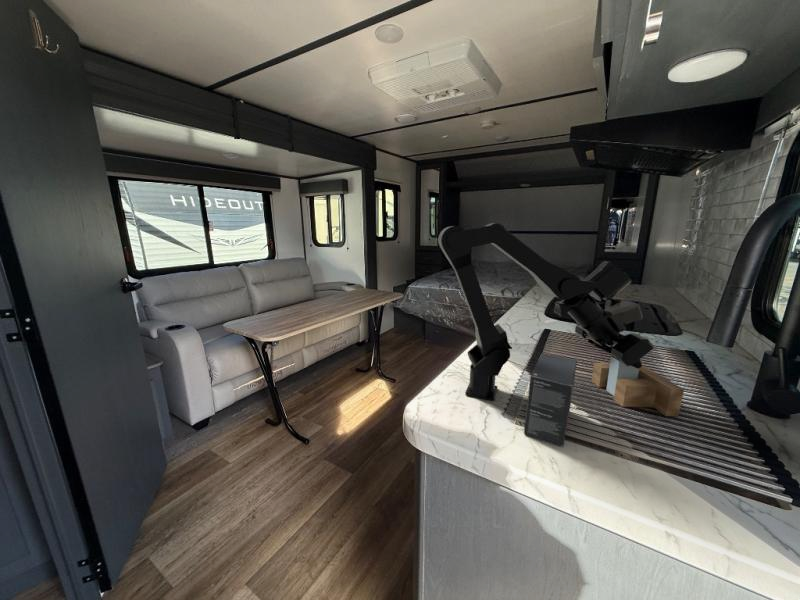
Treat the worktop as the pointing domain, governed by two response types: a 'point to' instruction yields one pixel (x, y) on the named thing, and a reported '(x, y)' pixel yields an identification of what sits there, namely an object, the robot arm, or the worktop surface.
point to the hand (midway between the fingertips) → (631, 362)
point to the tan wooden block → (642, 390)
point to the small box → (550, 398)
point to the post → (619, 373)
